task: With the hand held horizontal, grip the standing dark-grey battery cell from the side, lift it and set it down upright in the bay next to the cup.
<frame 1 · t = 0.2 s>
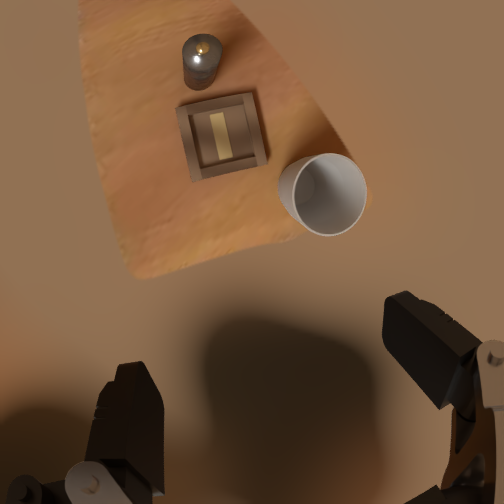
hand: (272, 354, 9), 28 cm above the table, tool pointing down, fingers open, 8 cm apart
bay: (220, 136, 33), on the table
cell: (199, 77, 30), on the table
cup: (296, 185, 37), on the table
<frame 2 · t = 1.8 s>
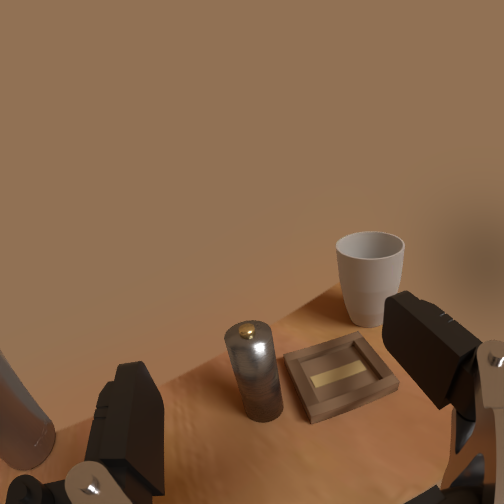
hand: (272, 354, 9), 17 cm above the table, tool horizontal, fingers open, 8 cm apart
bay: (338, 377, 27), on the table
cell: (264, 407, 25), on the table
cup: (368, 317, 36), on the table
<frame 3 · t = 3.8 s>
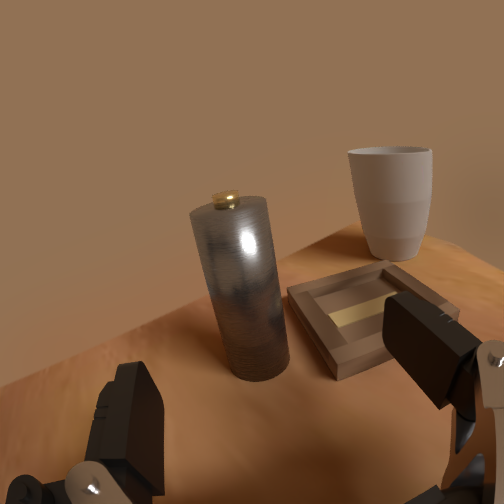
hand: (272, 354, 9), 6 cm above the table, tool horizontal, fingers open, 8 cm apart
bay: (369, 315, 19), on the table
cell: (259, 360, 17), on the table
cup: (394, 252, 27), on the table
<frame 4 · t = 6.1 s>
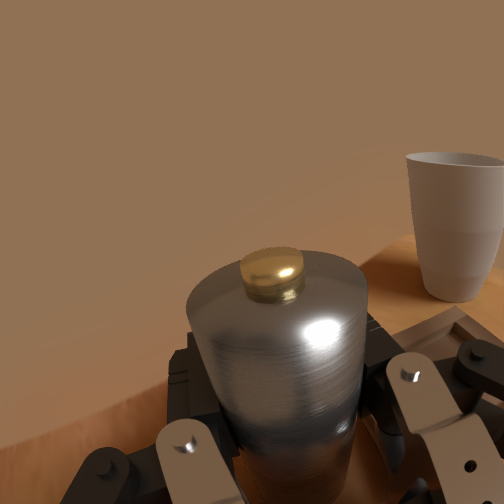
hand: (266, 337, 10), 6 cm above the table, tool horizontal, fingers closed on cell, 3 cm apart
bay: (444, 394, 11), on the table
cell: (302, 478, 9), on the table, touching gripper
cup: (451, 287, 19), on the table
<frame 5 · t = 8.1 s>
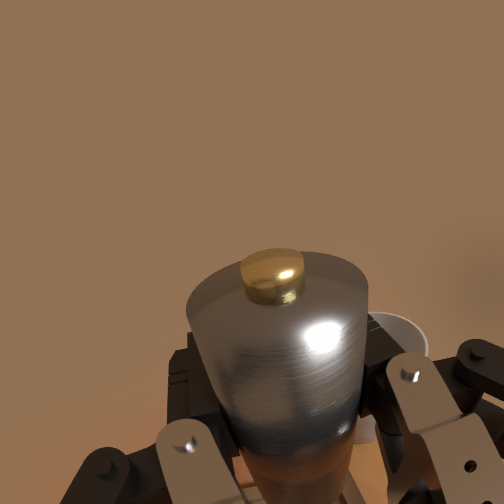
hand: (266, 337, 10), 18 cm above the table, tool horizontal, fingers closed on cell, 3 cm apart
cell: (302, 479, 9), point 12 cm above the table, touching gripper
cup: (362, 423, 22), on the table
when the fingers open (7 cm above the table, at t = 10.4 s): cell stays where it is, resting on bay.
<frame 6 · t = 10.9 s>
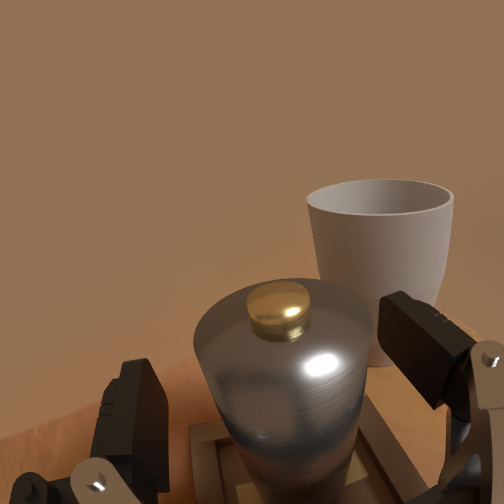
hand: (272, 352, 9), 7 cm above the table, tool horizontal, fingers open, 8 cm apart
bay: (302, 488, 10), on the table
cell: (302, 486, 9), point 1 cm above the table, touching bay
cup: (377, 343, 18), on the table
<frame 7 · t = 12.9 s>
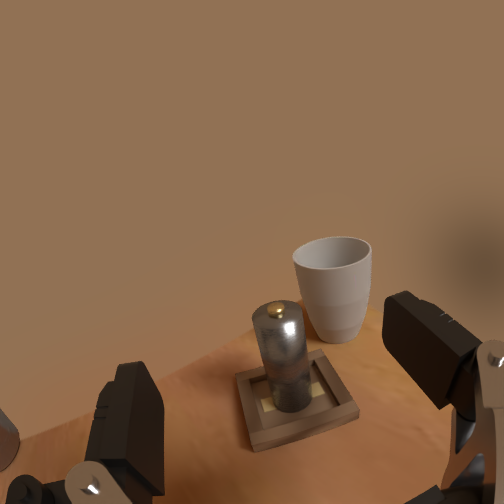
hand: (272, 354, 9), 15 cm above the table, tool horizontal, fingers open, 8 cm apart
bay: (293, 400, 24), on the table
cell: (292, 397, 24), point 1 cm above the table, touching bay
cup: (338, 331, 33), on the table
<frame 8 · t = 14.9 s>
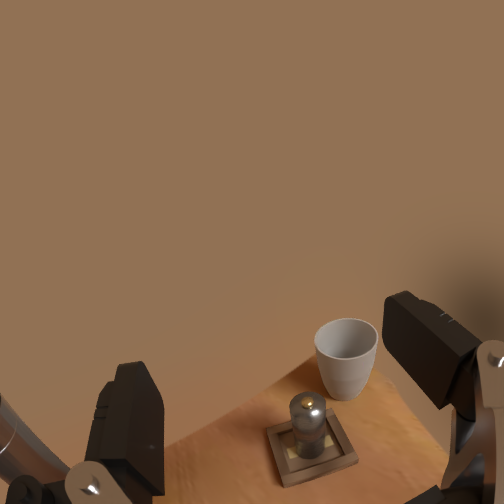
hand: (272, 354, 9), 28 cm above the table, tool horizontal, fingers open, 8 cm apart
bay: (310, 449, 30), on the table
cell: (310, 447, 29), point 1 cm above the table, touching bay
cup: (344, 389, 38), on the table
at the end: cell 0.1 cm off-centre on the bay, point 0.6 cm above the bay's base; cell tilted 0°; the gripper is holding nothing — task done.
